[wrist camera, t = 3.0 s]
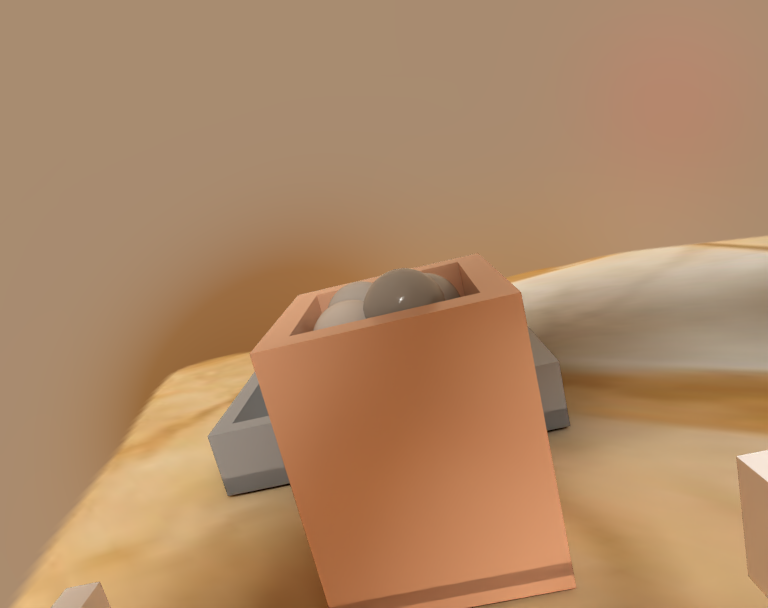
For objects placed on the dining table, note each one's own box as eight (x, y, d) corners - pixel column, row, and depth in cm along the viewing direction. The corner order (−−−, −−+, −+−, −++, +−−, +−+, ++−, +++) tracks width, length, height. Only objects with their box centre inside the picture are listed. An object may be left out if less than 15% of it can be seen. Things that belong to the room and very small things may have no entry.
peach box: (519, 459, 25) (473, 230, 23) (576, 587, 17) (514, 257, 15) (354, 493, 26) (292, 273, 23) (336, 631, 18) (239, 321, 15)
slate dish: (501, 327, 44) (493, 287, 43) (569, 425, 27) (558, 361, 26) (292, 373, 46) (281, 335, 45) (227, 496, 28) (207, 436, 27)
